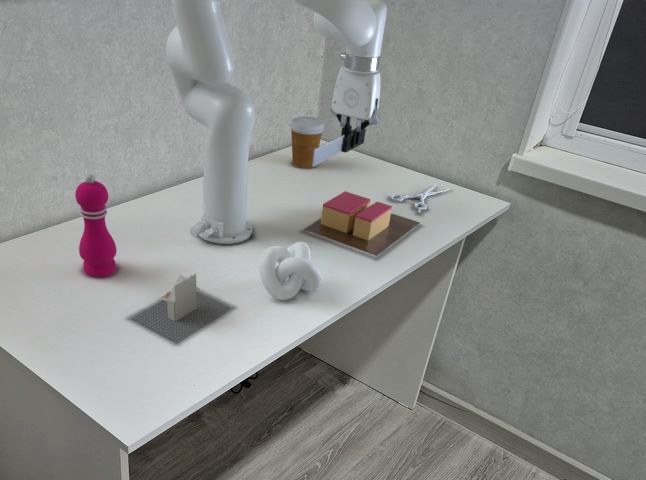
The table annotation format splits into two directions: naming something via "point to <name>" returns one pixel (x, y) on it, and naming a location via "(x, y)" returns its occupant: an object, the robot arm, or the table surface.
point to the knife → (335, 147)
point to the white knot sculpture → (288, 271)
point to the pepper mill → (95, 229)
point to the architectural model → (181, 311)
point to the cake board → (375, 244)
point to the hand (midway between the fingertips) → (350, 144)
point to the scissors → (421, 196)
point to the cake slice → (372, 220)
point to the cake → (343, 211)
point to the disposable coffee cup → (305, 139)
